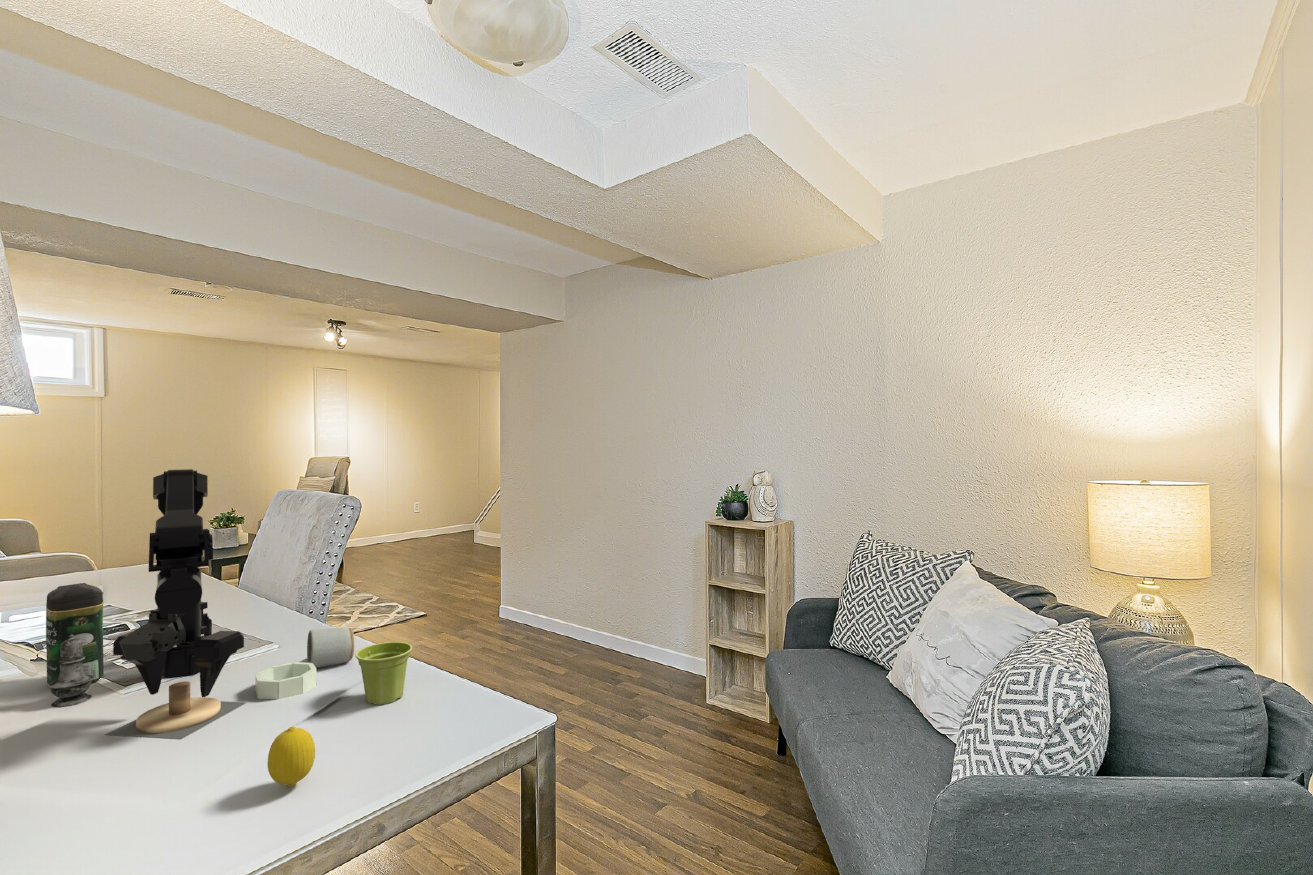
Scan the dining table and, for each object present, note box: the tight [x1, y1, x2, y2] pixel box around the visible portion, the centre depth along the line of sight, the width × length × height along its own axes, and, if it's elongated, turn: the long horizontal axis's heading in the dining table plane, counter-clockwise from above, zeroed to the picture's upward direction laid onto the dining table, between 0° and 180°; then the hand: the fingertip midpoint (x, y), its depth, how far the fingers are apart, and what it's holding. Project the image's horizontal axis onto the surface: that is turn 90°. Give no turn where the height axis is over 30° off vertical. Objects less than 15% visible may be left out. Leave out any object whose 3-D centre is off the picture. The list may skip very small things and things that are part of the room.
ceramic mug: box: [306, 626, 355, 669], centre depth 129 cm, size 11×8×8 cm
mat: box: [104, 700, 247, 740], centre depth 101 cm, size 13×13×1 cm
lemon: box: [267, 726, 316, 788], centre depth 83 cm, size 6×6×8 cm
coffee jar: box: [45, 582, 105, 685], centre depth 119 cm, size 10×8×19 cm
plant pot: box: [354, 641, 413, 706], centre depth 111 cm, size 9×9×9 cm
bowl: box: [254, 661, 317, 700], centre depth 113 cm, size 9×9×4 cm
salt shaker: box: [48, 634, 94, 708], centre depth 110 cm, size 6×6×12 cm
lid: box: [135, 680, 221, 734], centre depth 101 cm, size 11×11×5 cm
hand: (179, 694), depth 101 cm, fingers open, 9 cm apart
